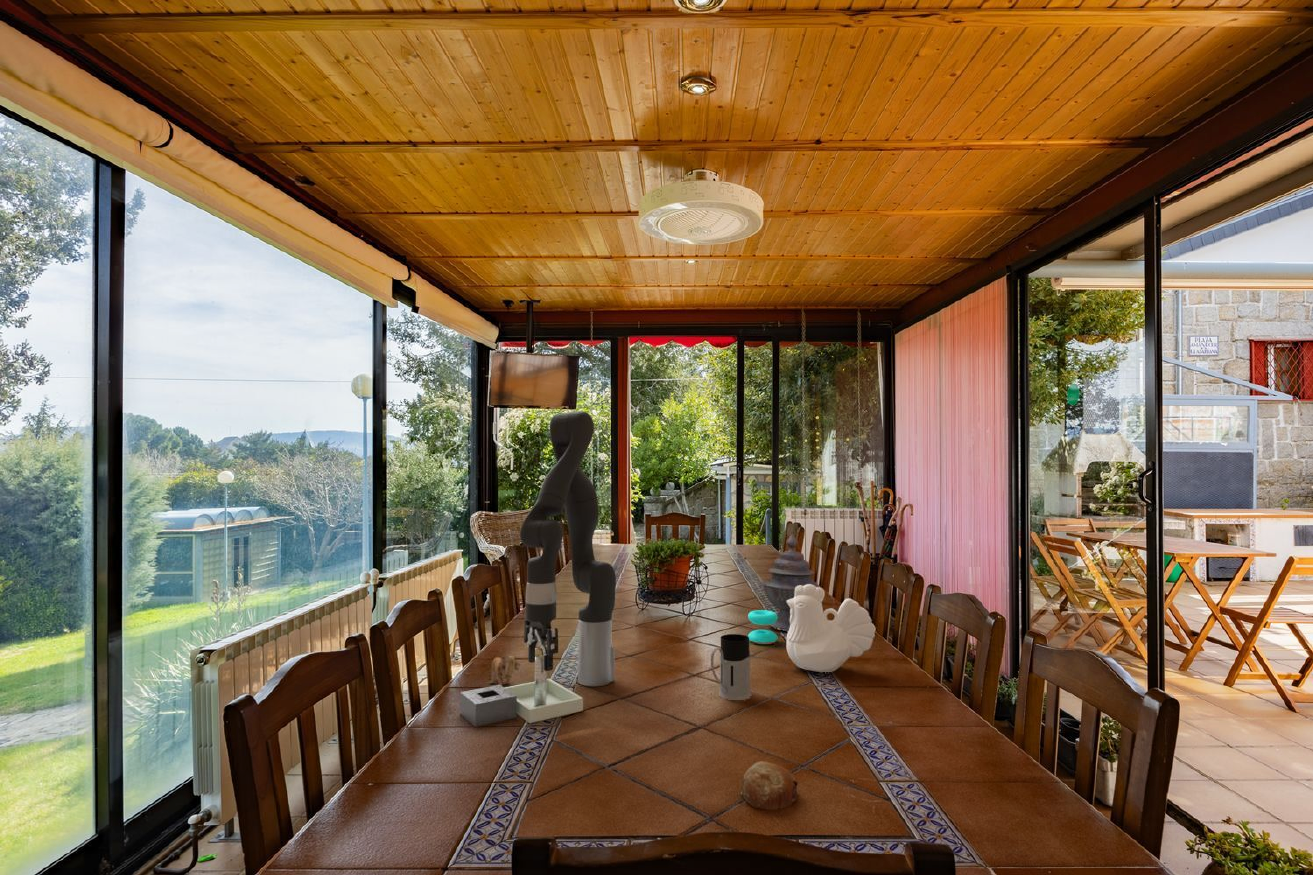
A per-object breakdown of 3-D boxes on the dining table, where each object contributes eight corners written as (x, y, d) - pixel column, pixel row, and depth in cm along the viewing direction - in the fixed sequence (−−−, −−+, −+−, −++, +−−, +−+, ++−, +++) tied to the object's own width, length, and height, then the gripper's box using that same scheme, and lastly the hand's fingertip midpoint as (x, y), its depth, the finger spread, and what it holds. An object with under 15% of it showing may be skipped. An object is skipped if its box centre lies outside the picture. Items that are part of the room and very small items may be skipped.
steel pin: (543, 702, 174) (544, 645, 175) (548, 705, 171) (549, 648, 172) (531, 704, 172) (533, 647, 173) (537, 708, 170) (538, 649, 170)
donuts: (779, 610, 240) (775, 616, 230) (779, 639, 239) (775, 647, 230) (750, 608, 243) (745, 614, 233) (750, 637, 242) (745, 644, 233)
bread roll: (746, 804, 133) (728, 766, 132) (793, 779, 133) (776, 741, 133) (758, 832, 123) (738, 791, 123) (809, 804, 124) (790, 764, 124)
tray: (549, 693, 183) (549, 678, 183) (582, 714, 168) (583, 697, 169) (498, 704, 175) (498, 688, 175) (529, 727, 160) (529, 709, 160)
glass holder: (758, 694, 183) (758, 637, 184) (725, 709, 173) (725, 648, 173) (731, 687, 189) (731, 631, 190) (698, 700, 179) (698, 641, 179)
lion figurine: (522, 690, 186) (523, 656, 187) (504, 694, 183) (505, 659, 183) (497, 676, 198) (497, 644, 198) (479, 680, 194) (480, 647, 194)
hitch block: (499, 708, 172) (499, 684, 172) (516, 721, 164) (516, 695, 164) (460, 717, 166) (460, 692, 166) (475, 731, 158) (475, 704, 158)
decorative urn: (760, 632, 246) (765, 532, 249) (761, 623, 266) (765, 530, 269) (819, 637, 243) (823, 536, 246) (815, 628, 262) (819, 534, 266)
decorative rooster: (780, 673, 201) (780, 587, 202) (793, 659, 216) (793, 578, 217) (870, 685, 191) (869, 594, 192) (877, 669, 205) (877, 585, 206)
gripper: (568, 603, 169) (567, 670, 168) (542, 593, 181) (541, 656, 180) (539, 606, 165) (539, 676, 164) (515, 596, 176) (514, 661, 176)
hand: (540, 666), depth 172 cm, fingers open, 8 cm apart
